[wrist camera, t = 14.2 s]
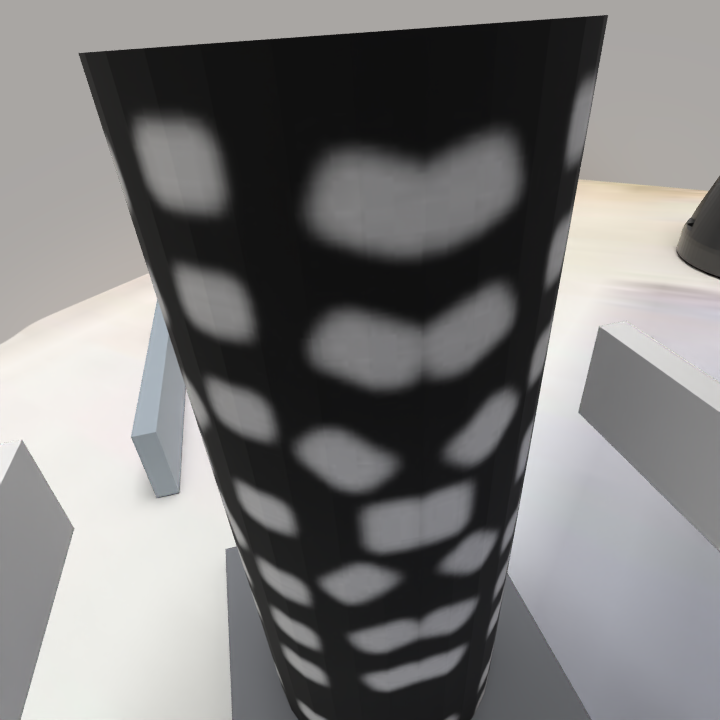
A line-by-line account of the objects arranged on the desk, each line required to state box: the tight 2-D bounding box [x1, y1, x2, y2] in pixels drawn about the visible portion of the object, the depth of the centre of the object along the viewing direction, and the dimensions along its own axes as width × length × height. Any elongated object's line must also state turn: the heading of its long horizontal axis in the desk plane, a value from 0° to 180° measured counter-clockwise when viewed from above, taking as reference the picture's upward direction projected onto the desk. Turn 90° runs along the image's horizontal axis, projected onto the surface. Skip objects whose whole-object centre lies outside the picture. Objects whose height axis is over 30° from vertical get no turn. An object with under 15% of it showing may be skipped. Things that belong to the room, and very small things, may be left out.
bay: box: [131, 299, 186, 498], centre depth 34 cm, size 19×19×9 cm
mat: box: [226, 547, 591, 720], centre depth 20 cm, size 12×12×1 cm
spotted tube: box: [79, 15, 608, 720], centre depth 14 cm, size 8×8×20 cm
